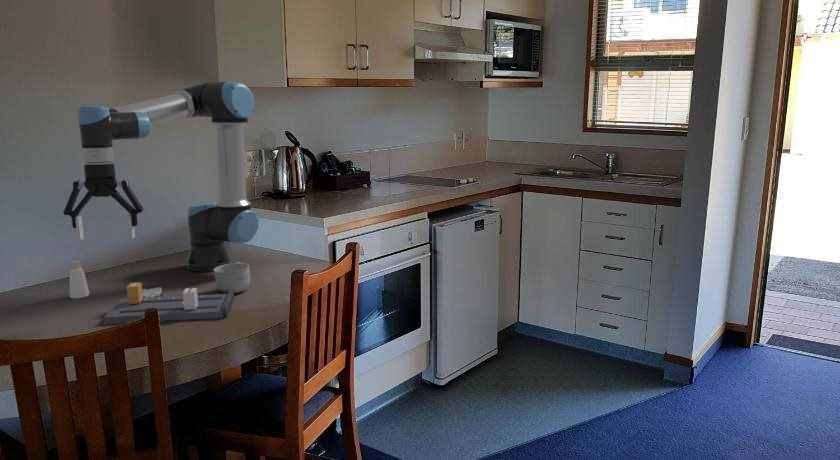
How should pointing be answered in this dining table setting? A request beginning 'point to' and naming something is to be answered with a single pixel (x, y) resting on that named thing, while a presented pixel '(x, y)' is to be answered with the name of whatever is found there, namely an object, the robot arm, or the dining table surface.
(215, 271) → the teacup
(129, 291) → the fader orange
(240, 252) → the dining table surface
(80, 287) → the salt shaker
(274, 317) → the dining table surface
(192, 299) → the fader ivory
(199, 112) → the robot arm
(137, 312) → the console
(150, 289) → the smartphone
